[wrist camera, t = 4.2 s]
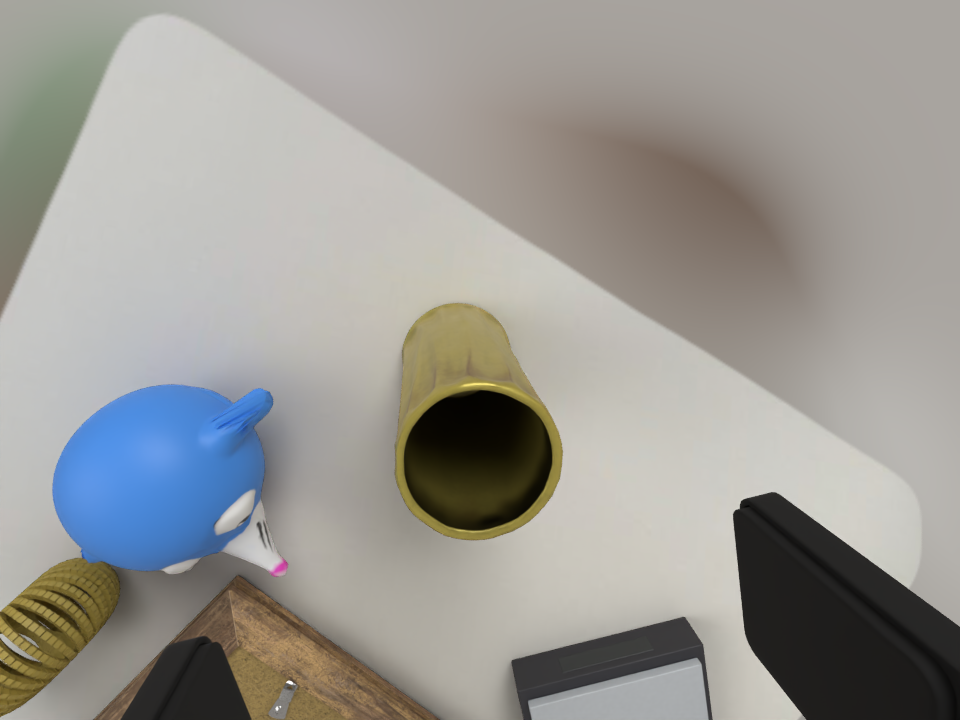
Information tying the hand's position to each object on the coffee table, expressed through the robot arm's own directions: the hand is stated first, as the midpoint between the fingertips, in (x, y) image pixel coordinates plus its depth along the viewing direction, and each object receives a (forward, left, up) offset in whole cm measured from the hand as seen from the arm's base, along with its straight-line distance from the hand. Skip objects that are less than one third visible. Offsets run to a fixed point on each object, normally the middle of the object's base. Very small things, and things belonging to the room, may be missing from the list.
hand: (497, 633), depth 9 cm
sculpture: (+24, +8, -21) cm, 33 cm away
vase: (0, 0, -21) cm, 21 cm away
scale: (-5, +27, -21) cm, 35 cm away
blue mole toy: (+14, +3, -21) cm, 25 cm away
